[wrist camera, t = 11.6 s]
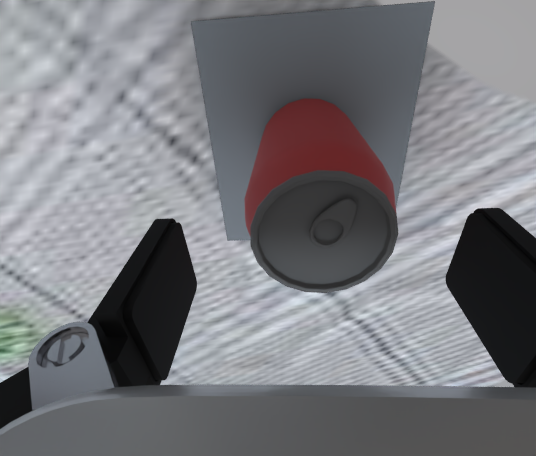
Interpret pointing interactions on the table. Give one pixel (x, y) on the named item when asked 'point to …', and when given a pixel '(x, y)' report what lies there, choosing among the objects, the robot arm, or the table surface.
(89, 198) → the table surface
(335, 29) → the mat
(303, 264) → the beer can
